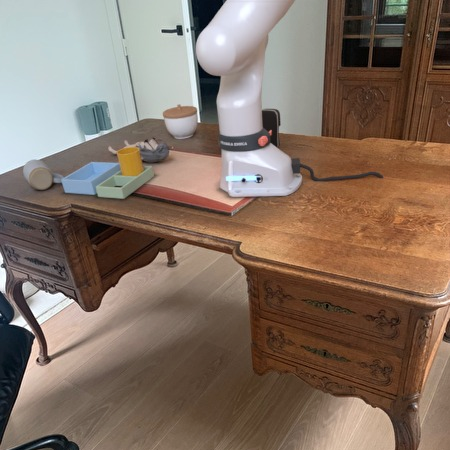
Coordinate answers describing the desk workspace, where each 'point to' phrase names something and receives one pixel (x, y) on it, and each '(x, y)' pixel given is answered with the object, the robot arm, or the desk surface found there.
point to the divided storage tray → (123, 184)
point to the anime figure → (149, 150)
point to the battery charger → (272, 124)
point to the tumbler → (130, 161)
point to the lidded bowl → (181, 121)
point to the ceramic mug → (40, 175)
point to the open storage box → (89, 177)
